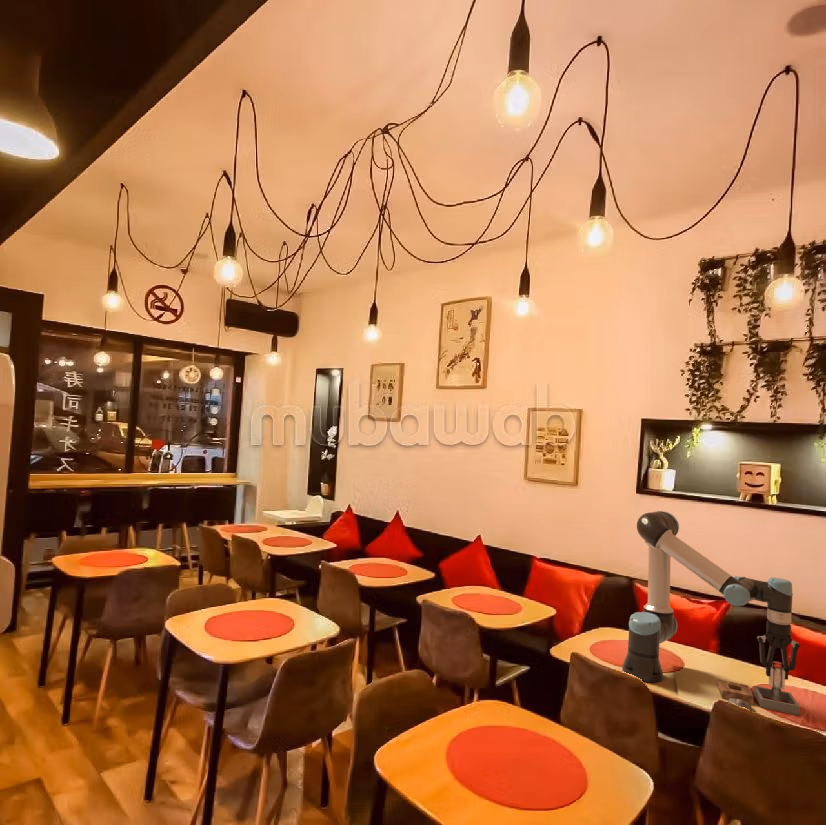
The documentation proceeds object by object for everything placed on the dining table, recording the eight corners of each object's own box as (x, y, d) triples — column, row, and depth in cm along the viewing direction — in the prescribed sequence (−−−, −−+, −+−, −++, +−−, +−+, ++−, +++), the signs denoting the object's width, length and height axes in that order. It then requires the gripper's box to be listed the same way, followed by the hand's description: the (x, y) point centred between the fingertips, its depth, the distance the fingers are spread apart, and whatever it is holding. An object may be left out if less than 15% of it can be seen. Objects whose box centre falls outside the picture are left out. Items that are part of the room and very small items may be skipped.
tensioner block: (725, 710, 200) (725, 699, 200) (717, 690, 216) (718, 679, 217) (757, 717, 196) (758, 705, 196) (747, 696, 213) (748, 685, 213)
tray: (759, 709, 202) (760, 698, 202) (753, 696, 213) (753, 685, 213) (799, 718, 198) (799, 706, 198) (790, 703, 209) (790, 692, 209)
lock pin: (772, 699, 204) (773, 663, 205) (770, 696, 207) (771, 660, 208) (781, 701, 203) (783, 665, 204) (779, 698, 206) (781, 662, 207)
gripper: (756, 620, 206) (753, 685, 205) (807, 628, 200) (805, 695, 199) (751, 615, 213) (749, 677, 212) (801, 622, 207) (799, 687, 206)
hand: (776, 686), depth 205 cm, fingers closed on lock pin, 3 cm apart
